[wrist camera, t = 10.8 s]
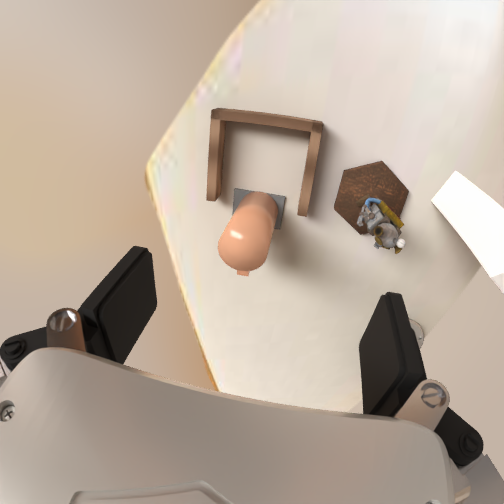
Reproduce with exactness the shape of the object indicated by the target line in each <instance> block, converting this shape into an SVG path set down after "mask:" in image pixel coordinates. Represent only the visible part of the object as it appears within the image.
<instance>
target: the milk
mask: <svg viewBox="0 0 504 504" xmlns="http://www.w3.org/2000/svg"><path fill="white" fill-rule="evenodd" d="M431 202H432V203H433V204H434V205H435V206H436V207H437V209H438V210H439V211H440V212H441V213H442V214H443V216H444V217H445V218H446V219H447V220H448V222H449V223H450V224H451V225H452V227H453V228H454V229H455V230H456V232H457V233H458V234H459V235H460V237H461V238H462V239H463V241H464V242H465V243H466V245H467V246H468V247H469V249H470V250H471V251H472V253H473V254H474V255H475V257H476V258H477V260H478V261H479V262H480V264H481V265H482V267H483V268H484V270H485V271H486V272H487V274H488V275H489V277H490V278H491V279H492V280H493V282H494V283H495V284H496V285H497V287H498V288H499V289H500V290H501V292H502V293H503V294H504V209H503V208H502V207H501V206H500V205H499V204H497V203H496V202H495V201H494V200H493V199H492V198H490V197H489V196H488V195H487V194H485V193H484V192H483V191H482V190H480V189H479V188H478V187H477V186H475V185H474V184H473V183H472V182H470V181H469V180H468V179H466V178H465V177H464V176H462V175H461V174H460V173H458V172H457V171H455V172H454V173H453V174H452V175H451V177H450V178H449V179H448V180H447V182H446V183H445V184H444V185H443V187H442V188H441V189H440V190H439V191H438V193H437V194H436V195H435V196H434V197H433V199H432V200H431Z"/></svg>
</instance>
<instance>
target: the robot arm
mask: <svg viewBox="0 0 504 504" xmlns="http://www.w3.org/2000/svg"><path fill="white" fill-rule="evenodd" d="M156 307H157V297H156V289H155V280H154V271H153V260H152V254H151V253H150V252H149V251H148V249H147V248H143V247H139V246H133V247H132V248H131V249H130V250H129V251H128V253H127V254H126V255H125V256H124V257H123V258H122V259H121V260H120V261H119V262H118V263H117V265H116V266H115V267H114V268H113V269H112V270H111V271H110V272H109V274H108V275H107V276H106V277H105V278H104V279H103V280H102V282H101V283H100V284H99V285H98V286H97V287H96V288H95V290H94V291H93V292H92V293H91V294H90V296H89V297H88V298H87V299H86V300H85V301H84V303H83V304H82V305H81V307H80V308H79V309H78V311H76V310H74V309H72V308H62V309H59V310H57V311H55V312H53V313H52V314H51V315H50V316H49V318H48V320H47V324H46V327H43V328H39V329H36V330H33V331H29V332H26V333H22V334H19V335H15V336H13V337H10V338H8V339H7V340H5V341H4V343H3V344H2V346H1V348H0V504H503V503H504V481H503V479H502V477H501V476H500V474H499V472H498V471H497V469H496V468H495V466H494V464H493V463H492V461H491V460H490V458H489V457H488V455H487V454H486V455H485V456H484V455H483V454H482V451H483V440H482V438H481V436H480V434H479V433H478V432H477V431H476V430H475V429H474V428H473V427H471V426H470V425H469V424H468V423H467V422H465V421H464V420H463V419H462V418H461V417H460V416H458V415H457V414H456V413H455V412H454V411H452V410H451V409H450V408H449V407H448V405H449V402H450V397H449V393H448V391H447V389H446V388H445V386H443V385H442V384H441V383H440V382H438V381H436V380H432V379H428V380H427V378H426V373H425V369H424V365H423V361H422V357H421V353H420V348H421V346H422V344H423V341H424V335H423V331H422V328H421V327H420V325H419V324H418V323H416V322H415V321H413V320H410V319H409V318H408V314H407V311H406V308H405V304H404V301H403V298H402V295H401V294H398V293H392V292H387V293H386V294H385V295H382V296H381V297H380V299H379V302H378V304H377V306H376V309H375V311H374V313H373V315H372V317H371V320H370V322H369V324H368V326H367V328H366V330H365V332H364V334H363V337H362V339H361V341H360V345H359V354H360V365H361V379H362V395H363V414H357V413H347V412H338V411H329V410H320V409H312V408H304V407H297V406H291V405H284V404H278V403H272V402H267V401H261V400H256V399H251V398H246V397H241V396H236V395H231V394H227V393H222V392H218V391H214V390H209V389H205V388H201V387H197V386H193V385H190V384H186V383H182V382H178V381H175V380H171V379H168V378H164V377H161V376H158V375H154V374H151V373H148V372H144V371H141V370H138V369H135V368H131V367H129V366H126V365H123V364H124V362H125V360H126V358H127V356H128V355H129V353H130V352H131V350H132V348H133V346H134V344H135V343H136V341H137V340H138V338H139V336H140V335H141V333H142V331H143V330H144V328H145V326H146V324H147V323H148V321H149V320H150V318H151V316H152V314H153V313H154V311H155V310H156Z"/></svg>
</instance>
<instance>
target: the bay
mask: <svg viewBox="0 0 504 504" xmlns="http://www.w3.org/2000/svg"><path fill="white" fill-rule="evenodd" d="M226 121H236V122H246V123H254V124H262V125H270V126H277V127H284V128H290V129H297V130H303V131H308V132H311V133H310V140H309V146H308V152H307V158H306V165H305V171H304V177H303V182H302V188H301V194H300V200H299V205H298V214H297V215H300V216H305V217H306V216H307V211H308V206H309V201H310V196H311V190H312V185H313V179H314V174H315V168H316V163H317V157H318V151H319V145H320V139H321V133H322V127H323V123H322V122H321V121H316V120H310V119H304V118H298V117H292V116H285V115H278V114H271V113H263V112H254V111H245V110H235V109H223V108H217V109H213V110H212V111H211V125H210V140H209V157H208V176H207V199H206V200H208V201H216V200H217V198H218V197H219V196H220V194H221V180H222V165H223V151H224V138H225V126H226Z"/></svg>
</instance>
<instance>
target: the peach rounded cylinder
mask: <svg viewBox="0 0 504 504" xmlns="http://www.w3.org/2000/svg"><path fill="white" fill-rule="evenodd" d="M277 215H278V207H277V204H276V202H275V200H274V199H273V198H272V197H271V196H270V195H268V194H266V193H263V192H251V193H249V194H247V195H245V196H244V197H243V198H242V200H241V201H240V203H239V205H238V207H237V209H236V210H235V212H234V214H233V216H232V217H231V219H230V221H229V223H228V225H227V226H226V228H225V230H224V232H223V234H222V236H221V237H220V239H219V242H218V251H219V254H220V257H221V258H222V260H223V261H224V262H225V263H226V264H227V265H228V266H230V267H231V268H234V269H236V270H237V274H238V275H243V276H248V275H249V272H250V271H252V270H255V269H257V268H259V267H260V266H261V265H263V263H264V262H265V260H266V258H267V254H268V250H269V247H270V243H271V239H272V235H273V231H274V227H275V223H276V219H277Z"/></svg>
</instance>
